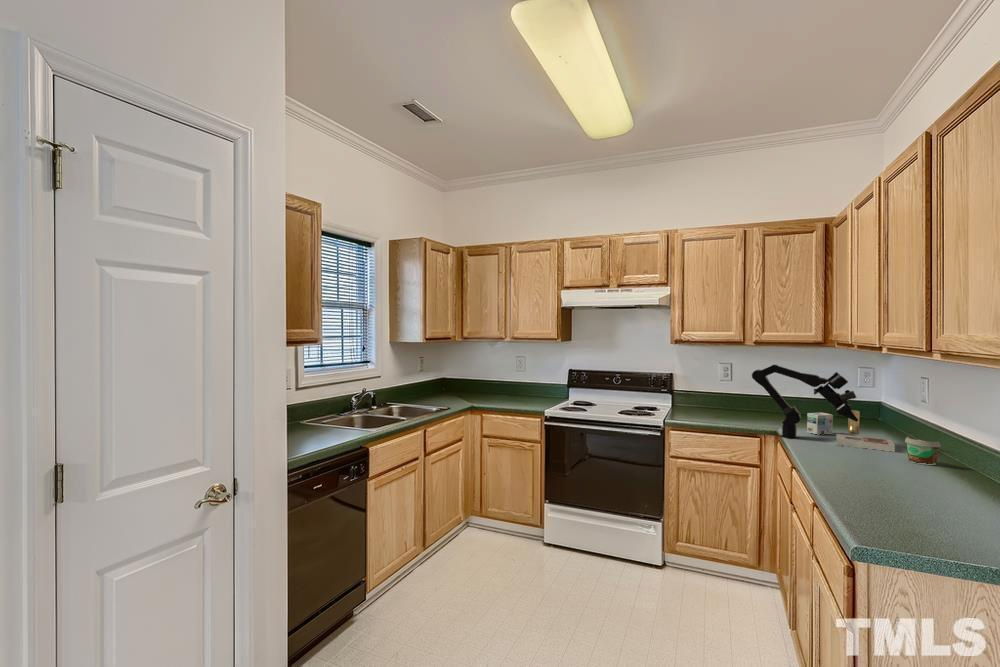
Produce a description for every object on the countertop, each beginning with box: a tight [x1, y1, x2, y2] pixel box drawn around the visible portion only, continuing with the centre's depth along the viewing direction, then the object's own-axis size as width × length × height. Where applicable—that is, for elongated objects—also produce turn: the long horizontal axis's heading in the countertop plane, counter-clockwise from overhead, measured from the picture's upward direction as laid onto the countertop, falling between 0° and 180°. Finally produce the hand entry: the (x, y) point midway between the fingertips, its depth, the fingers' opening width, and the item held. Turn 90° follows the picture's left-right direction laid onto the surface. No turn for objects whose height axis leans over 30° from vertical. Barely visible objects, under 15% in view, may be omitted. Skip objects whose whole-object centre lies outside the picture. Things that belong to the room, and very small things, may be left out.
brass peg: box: [847, 409, 861, 436], centre depth 242 cm, size 4×4×11 cm
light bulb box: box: [806, 412, 834, 436], centre depth 266 cm, size 11×7×11 cm, turn 105°
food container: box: [904, 435, 942, 464], centre depth 210 cm, size 12×6×10 cm, turn 21°
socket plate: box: [835, 433, 896, 453], centre depth 240 cm, size 22×14×3 cm, turn 57°
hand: (857, 420), depth 241 cm, fingers closed on brass peg, 4 cm apart
